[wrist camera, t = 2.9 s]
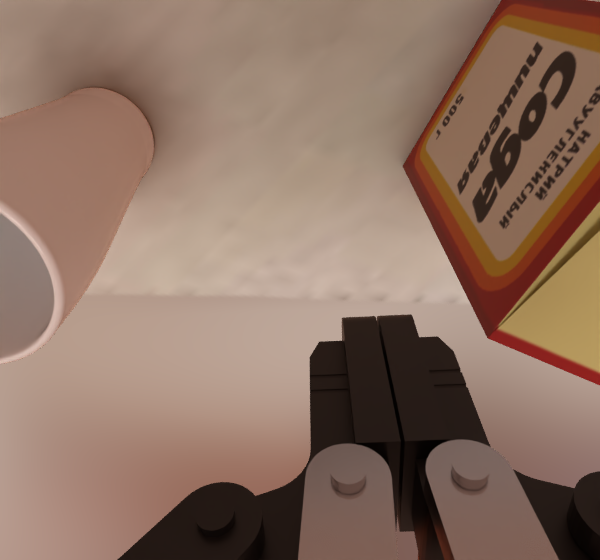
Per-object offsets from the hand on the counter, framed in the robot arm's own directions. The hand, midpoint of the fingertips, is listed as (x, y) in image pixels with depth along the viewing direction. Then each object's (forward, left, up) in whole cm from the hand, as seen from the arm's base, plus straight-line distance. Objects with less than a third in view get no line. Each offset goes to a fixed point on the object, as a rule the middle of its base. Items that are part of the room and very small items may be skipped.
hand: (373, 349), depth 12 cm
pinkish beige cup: (-12, 0, -19) cm, 23 cm away
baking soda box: (+9, 0, -19) cm, 21 cm away
